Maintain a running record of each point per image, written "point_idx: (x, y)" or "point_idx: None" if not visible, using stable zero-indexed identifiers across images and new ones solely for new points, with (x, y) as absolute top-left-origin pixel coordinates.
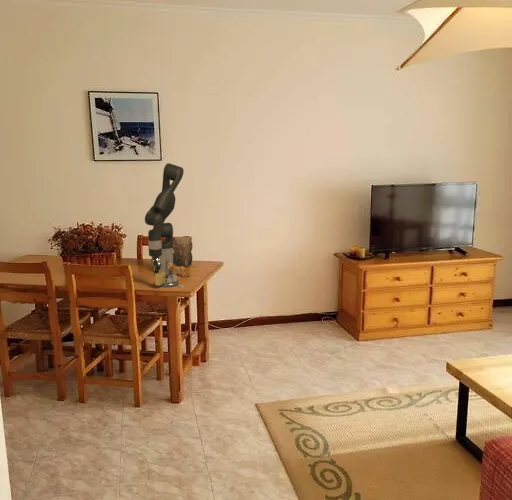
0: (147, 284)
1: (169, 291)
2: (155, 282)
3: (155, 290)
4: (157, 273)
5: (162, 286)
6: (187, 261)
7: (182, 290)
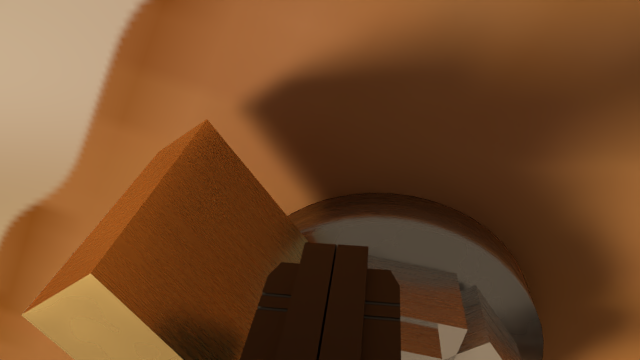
0: (609, 55)
1: (28, 214)
2: (187, 142)
3: (138, 59)
4: (69, 321)
5: (290, 219)
6: None
7: (39, 341)
